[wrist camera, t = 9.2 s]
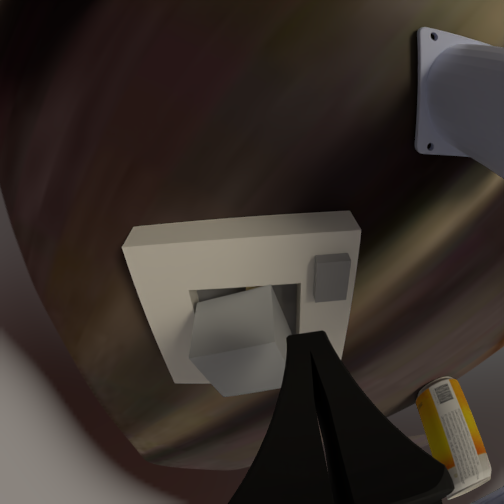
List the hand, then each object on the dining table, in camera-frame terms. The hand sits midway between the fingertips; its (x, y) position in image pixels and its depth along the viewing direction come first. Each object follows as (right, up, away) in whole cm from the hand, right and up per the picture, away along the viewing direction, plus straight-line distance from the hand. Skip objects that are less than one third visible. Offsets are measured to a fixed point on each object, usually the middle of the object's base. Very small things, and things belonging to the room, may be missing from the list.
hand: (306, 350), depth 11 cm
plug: (-2, 0, +12) cm, 12 cm away
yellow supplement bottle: (+21, -13, +22) cm, 33 cm away
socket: (-2, 0, +12) cm, 13 cm away
